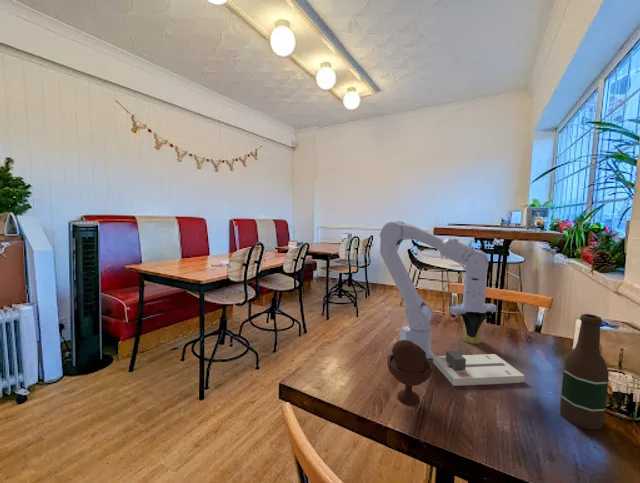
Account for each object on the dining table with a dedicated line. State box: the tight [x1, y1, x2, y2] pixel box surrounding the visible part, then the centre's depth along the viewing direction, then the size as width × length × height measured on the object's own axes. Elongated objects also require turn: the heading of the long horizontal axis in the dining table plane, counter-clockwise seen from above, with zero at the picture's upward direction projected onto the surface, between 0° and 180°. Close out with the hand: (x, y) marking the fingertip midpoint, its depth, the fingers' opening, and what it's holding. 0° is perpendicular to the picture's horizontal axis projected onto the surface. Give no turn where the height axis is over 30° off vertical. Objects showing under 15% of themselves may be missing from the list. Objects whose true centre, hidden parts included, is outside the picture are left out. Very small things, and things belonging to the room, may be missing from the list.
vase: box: [461, 322, 482, 345], centre depth 105 cm, size 6×6×14 cm
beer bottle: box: [559, 313, 609, 431], centre depth 65 cm, size 8×8×24 cm
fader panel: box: [432, 353, 526, 387], centre depth 85 cm, size 20×12×2 cm, turn 95°
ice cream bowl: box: [386, 340, 434, 406], centre depth 73 cm, size 11×11×15 cm
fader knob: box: [445, 350, 466, 370], centre depth 84 cm, size 3×5×3 cm, turn 5°
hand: (471, 335), depth 88 cm, fingers closed
